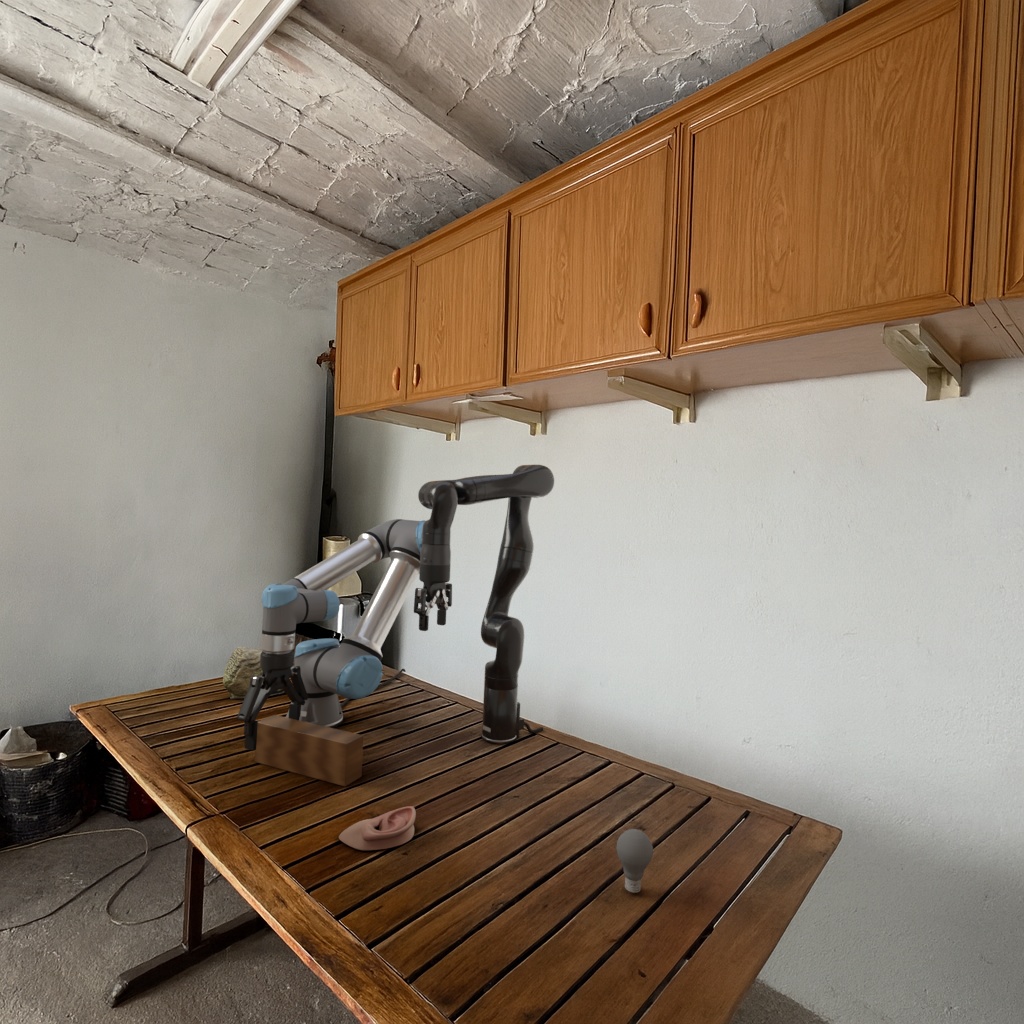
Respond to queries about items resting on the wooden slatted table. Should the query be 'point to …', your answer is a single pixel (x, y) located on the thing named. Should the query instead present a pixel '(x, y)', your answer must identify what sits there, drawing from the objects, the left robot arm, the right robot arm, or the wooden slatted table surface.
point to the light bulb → (634, 857)
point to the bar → (309, 749)
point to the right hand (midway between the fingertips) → (432, 627)
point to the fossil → (242, 671)
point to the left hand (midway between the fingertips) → (272, 740)
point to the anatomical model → (381, 830)
